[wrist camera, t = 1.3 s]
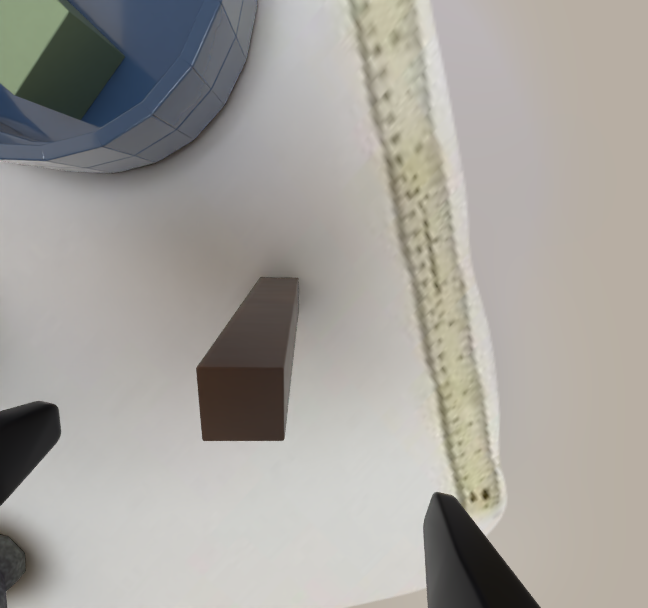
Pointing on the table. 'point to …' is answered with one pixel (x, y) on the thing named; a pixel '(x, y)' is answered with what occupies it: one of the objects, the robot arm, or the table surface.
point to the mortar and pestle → (9, 566)
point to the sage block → (53, 55)
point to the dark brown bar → (251, 367)
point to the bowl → (138, 87)
